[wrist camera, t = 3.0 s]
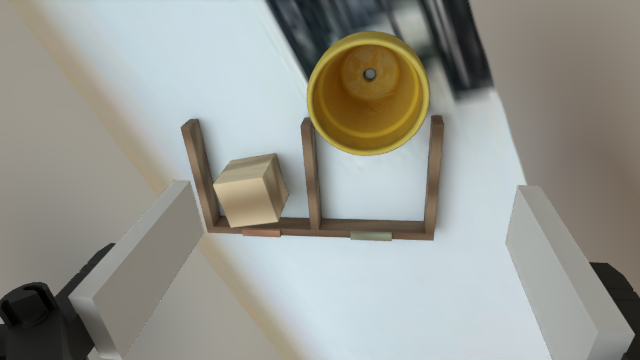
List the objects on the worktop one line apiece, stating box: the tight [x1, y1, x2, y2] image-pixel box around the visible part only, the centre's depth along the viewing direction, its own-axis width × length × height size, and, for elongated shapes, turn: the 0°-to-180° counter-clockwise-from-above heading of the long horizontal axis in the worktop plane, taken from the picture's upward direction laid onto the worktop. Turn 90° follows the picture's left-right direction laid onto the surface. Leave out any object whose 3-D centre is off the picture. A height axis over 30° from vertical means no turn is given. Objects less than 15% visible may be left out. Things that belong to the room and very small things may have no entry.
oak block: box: [213, 153, 289, 228], centre depth 48 cm, size 6×6×6 cm
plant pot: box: [307, 31, 430, 156], centre depth 37 cm, size 10×10×10 cm
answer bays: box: [181, 116, 444, 241], centre depth 47 cm, size 15×29×3 cm, turn 94°
